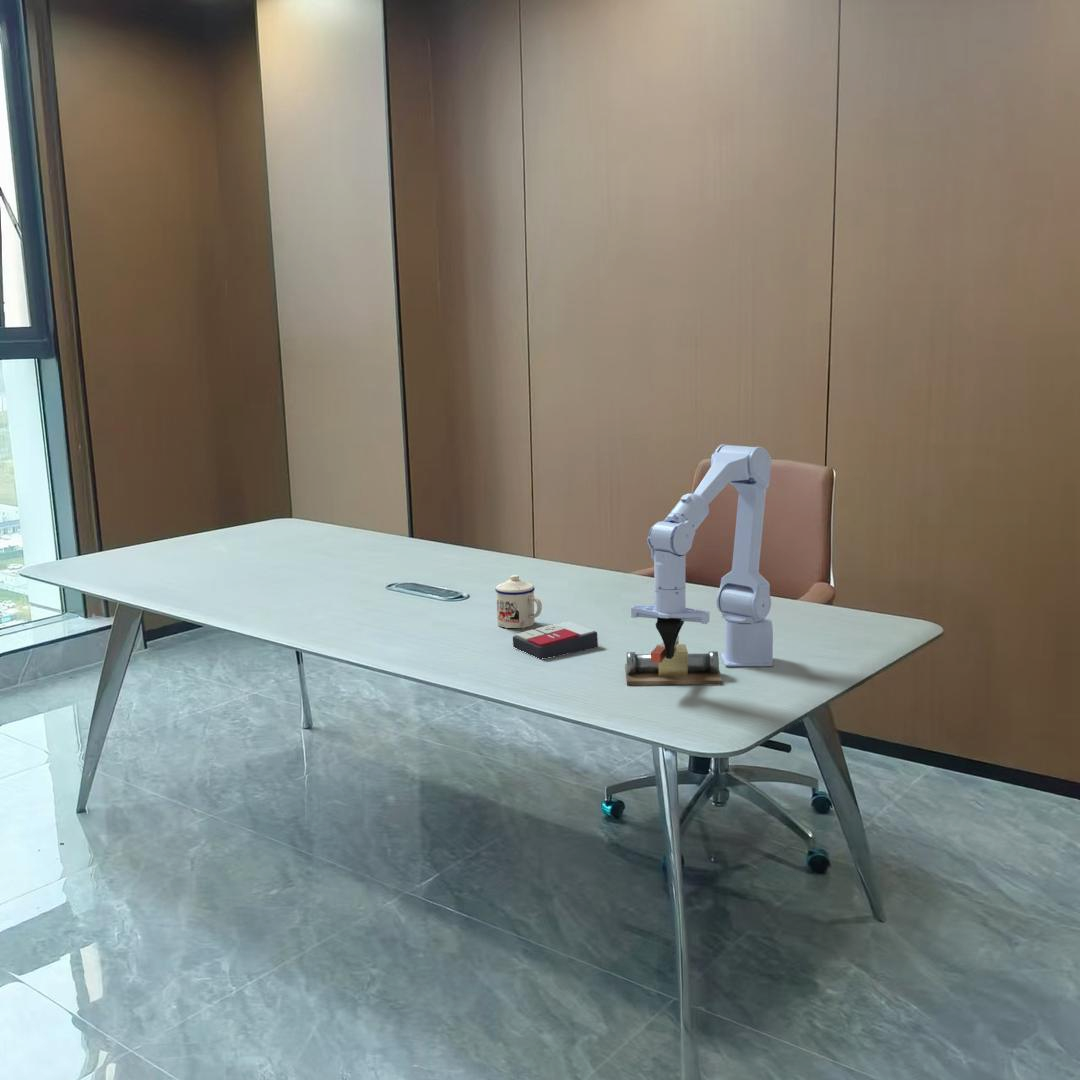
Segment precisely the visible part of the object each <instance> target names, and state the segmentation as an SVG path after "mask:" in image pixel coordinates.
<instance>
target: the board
mask: <svg viewBox="0 0 1080 1080" xmlns="http://www.w3.org/2000/svg"><path fill="white" fill-rule="evenodd" d="M624 669H625V671H624V672H625V680H626V685H627V686H668V685H667V684H674V685H673V686H676V685H675V684H723V680H722V677H721V676H720V675H721V674H720V672H719V671H718V674H710V673H709V672H688V676H658V672H654V673H636V674H627V663H624Z"/></svg>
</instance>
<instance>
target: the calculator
mask: <svg viewBox="0 0 1080 1080" xmlns="http://www.w3.org/2000/svg"><path fill="white" fill-rule="evenodd" d="M512 645H513V647H515V648H517V649H519V650H521V651H524V652H526V653H528V654H530V655H529V656H531V655H533V656H535V657H537V658H536V659H538V658H539V659H538V660H540V659H542V658H547V659H549V658H548V657H552V658H554V657H553V656H556V657H560V656H559V655H561V656H564V655H563V654H565V655H568V654H567V653H569V654H572V653H576V652H578V651H582V650H583V651H587V650H586V649H588V650H591V649H592V650H593V649H595V648H598V647H599V641H598V631H595V629H591V628H588V627H586V626H583V625H580V624H577V623H575V622H572V621H568V620H567V621H563V622H559V623H556V624H554V623H553V624H549V625H545V626H541V627H537V628H535V629H530V630H525V631H521V632H518V633H515V635H514V636H512ZM517 649H516V650H517ZM519 650H518V651H519ZM521 651H520V652H521ZM524 652H523V653H524ZM526 653H525V654H526ZM528 654H527V655H528ZM533 656H532V657H533ZM535 657H534V658H535Z"/></svg>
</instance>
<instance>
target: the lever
mask: <svg viewBox="0 0 1080 1080" xmlns="http://www.w3.org/2000/svg"><path fill="white" fill-rule="evenodd" d="M679 643H680V636H679V634H678V636H677V639H676V642H675V645H676V644H679ZM659 645H660V646H657V645H656V646H655V647H654V648H653V649H652V651H651V652H650V654H651V662H653V663H661V662H662V661H663V659H664V658H665V657H666V649H665V645H664V642H663V641H662V643H661V644H659Z"/></svg>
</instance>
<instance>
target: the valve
mask: <svg viewBox="0 0 1080 1080" xmlns="http://www.w3.org/2000/svg"><path fill="white" fill-rule="evenodd" d="M660 645H661V644H656V646H660ZM719 659H720V658H719V653H718V651H712V650H711V651H710V650H709V651H708V652H707V653H689V652H688V648H687V645H686V644H685V643H684V644H682V643H681V644H676V645H675V646H674V656H673V657H672V658H671V659H667V658H666V657H665V658H664V659H663V661H662V662H661V663H653V662H651V653H636V651H627V652H626V664H627V674H636V673H654V672H658V676H688V672H709V673H710V674H718V672H719V670H720V667H719V663H720V662H719V661H720V660H719Z"/></svg>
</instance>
